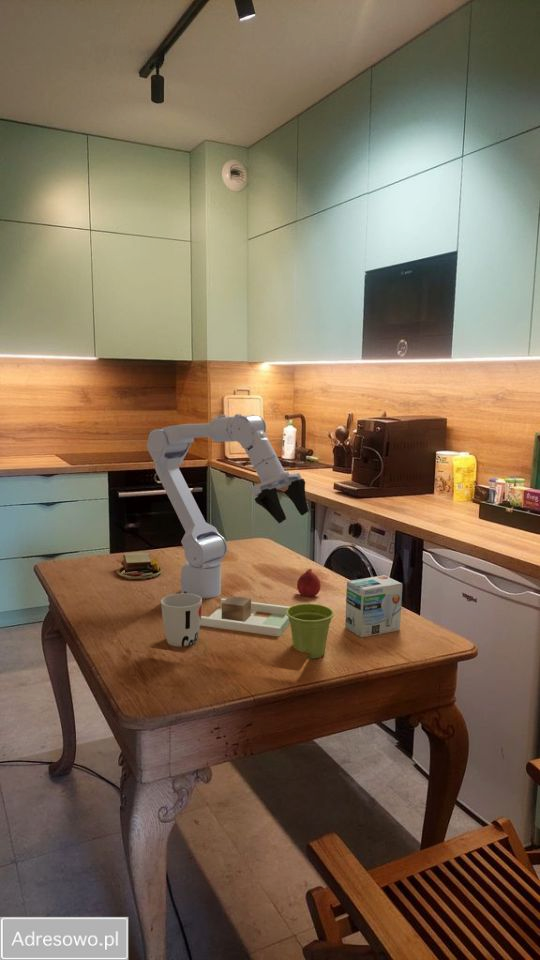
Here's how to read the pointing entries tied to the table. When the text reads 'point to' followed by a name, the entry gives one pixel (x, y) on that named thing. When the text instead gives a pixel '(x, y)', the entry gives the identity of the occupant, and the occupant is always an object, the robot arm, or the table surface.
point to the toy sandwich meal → (139, 566)
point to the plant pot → (310, 628)
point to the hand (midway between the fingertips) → (294, 517)
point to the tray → (252, 620)
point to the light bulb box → (373, 605)
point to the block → (236, 608)
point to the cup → (181, 618)
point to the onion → (308, 584)
